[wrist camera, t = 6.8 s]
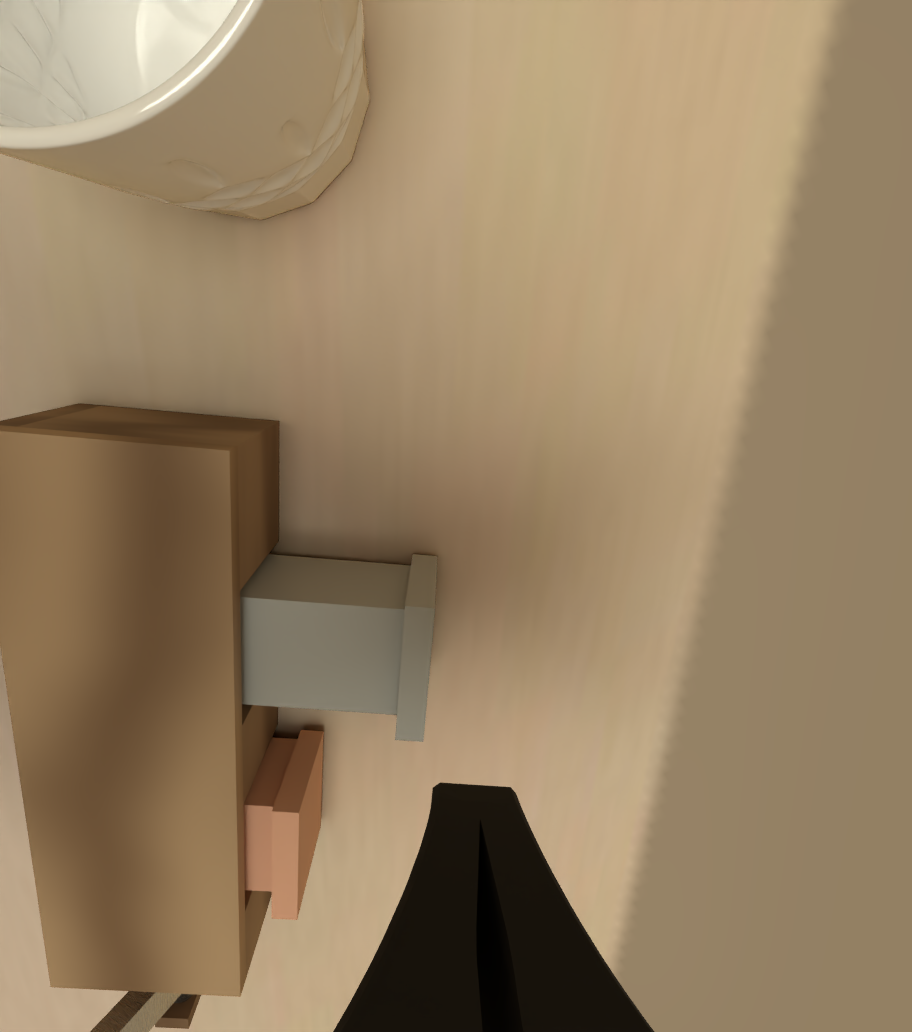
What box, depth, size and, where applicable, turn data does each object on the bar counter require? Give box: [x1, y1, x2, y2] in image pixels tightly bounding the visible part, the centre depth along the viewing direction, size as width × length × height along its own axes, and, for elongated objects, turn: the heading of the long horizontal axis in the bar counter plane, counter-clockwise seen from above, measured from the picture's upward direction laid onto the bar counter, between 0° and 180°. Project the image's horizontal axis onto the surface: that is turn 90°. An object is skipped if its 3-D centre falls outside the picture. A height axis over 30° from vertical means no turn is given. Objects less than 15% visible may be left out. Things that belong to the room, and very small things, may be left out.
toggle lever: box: [91, 991, 193, 1032], centre depth 21 cm, size 1×2×4 cm, turn 174°
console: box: [0, 404, 279, 1029], centre depth 20 cm, size 6×22×4 cm, turn 175°
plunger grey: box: [240, 554, 437, 742], centre depth 19 cm, size 7×4×4 cm, turn 85°
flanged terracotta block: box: [243, 730, 324, 920], centre depth 20 cm, size 7×4×4 cm, turn 85°
